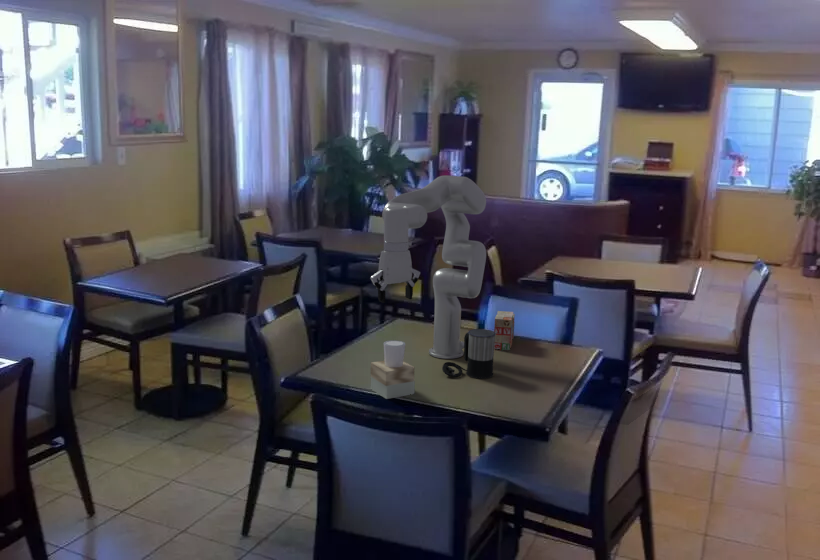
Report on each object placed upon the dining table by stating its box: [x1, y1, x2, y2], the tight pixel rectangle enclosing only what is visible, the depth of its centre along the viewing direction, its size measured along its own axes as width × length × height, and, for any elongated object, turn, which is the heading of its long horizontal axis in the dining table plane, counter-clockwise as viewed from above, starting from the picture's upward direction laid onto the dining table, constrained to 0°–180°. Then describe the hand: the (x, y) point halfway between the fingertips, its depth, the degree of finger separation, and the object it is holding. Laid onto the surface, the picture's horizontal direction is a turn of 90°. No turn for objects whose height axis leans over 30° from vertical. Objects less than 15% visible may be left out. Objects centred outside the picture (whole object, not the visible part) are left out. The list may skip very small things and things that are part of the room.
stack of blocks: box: [493, 310, 516, 351], centre depth 304 cm, size 21×6×12 cm, turn 169°
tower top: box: [370, 360, 415, 386], centre depth 246 cm, size 10×10×4 cm
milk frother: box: [442, 328, 496, 379], centre depth 264 cm, size 14×16×15 cm
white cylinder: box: [383, 339, 406, 367], centre depth 245 cm, size 7×7×7 cm
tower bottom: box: [370, 376, 416, 400], centre depth 247 cm, size 10×10×4 cm
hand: (395, 300), depth 250 cm, fingers open, 9 cm apart
